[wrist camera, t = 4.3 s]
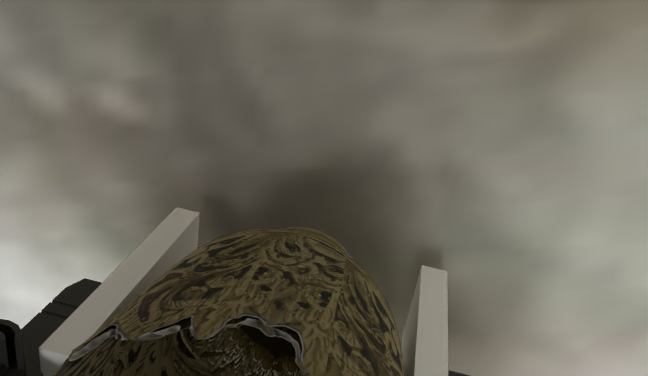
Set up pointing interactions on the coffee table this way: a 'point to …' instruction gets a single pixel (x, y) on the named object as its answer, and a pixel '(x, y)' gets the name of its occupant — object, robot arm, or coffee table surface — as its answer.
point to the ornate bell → (251, 315)
